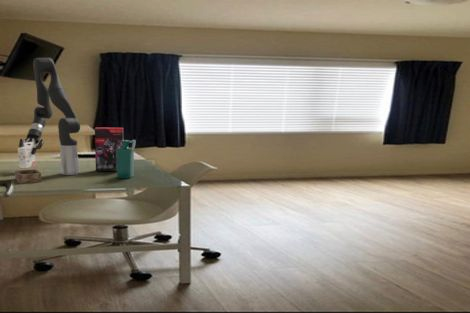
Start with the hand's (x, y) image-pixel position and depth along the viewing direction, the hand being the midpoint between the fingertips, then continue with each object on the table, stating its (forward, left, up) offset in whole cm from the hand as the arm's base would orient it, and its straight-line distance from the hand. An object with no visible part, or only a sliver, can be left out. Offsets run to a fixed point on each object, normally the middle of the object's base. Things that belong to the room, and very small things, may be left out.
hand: (27, 153), depth 244 cm
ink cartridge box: (0, 0, -8) cm, 8 cm away
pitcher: (-60, +5, -11) cm, 61 cm away
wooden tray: (-11, +22, -11) cm, 27 cm away
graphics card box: (-45, -14, -11) cm, 48 cm away
